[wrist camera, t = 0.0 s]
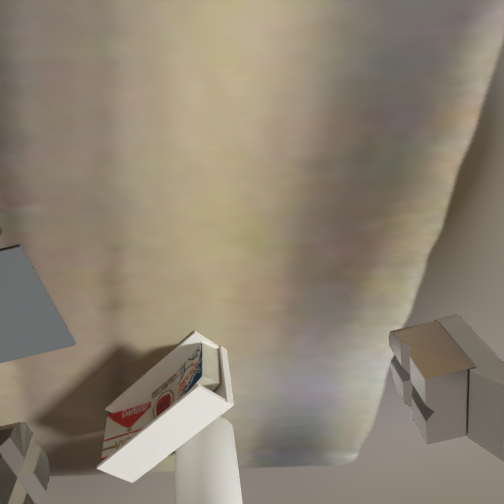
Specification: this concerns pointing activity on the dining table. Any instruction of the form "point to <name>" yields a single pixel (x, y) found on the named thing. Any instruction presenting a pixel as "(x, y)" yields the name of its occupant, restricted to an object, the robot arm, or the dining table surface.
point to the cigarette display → (166, 407)
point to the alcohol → (208, 467)
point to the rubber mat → (26, 310)
